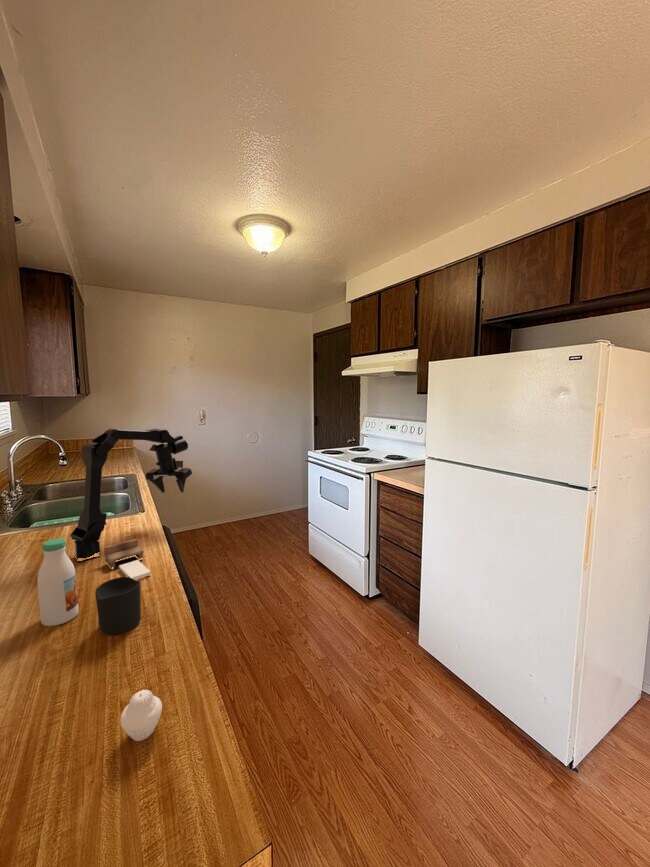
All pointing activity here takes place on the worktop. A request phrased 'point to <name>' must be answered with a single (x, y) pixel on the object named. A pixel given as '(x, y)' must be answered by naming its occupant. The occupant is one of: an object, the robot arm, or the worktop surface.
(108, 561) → the l-shaped bracket
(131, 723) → the white rounded lump
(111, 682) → the worktop surface
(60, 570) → the milk bottle
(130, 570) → the tile
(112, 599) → the pen holder
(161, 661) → the worktop surface
